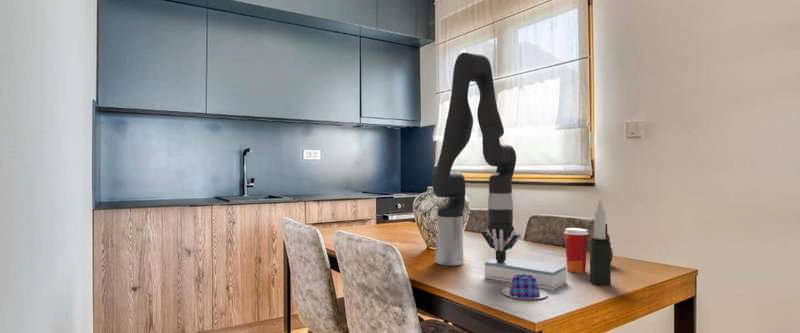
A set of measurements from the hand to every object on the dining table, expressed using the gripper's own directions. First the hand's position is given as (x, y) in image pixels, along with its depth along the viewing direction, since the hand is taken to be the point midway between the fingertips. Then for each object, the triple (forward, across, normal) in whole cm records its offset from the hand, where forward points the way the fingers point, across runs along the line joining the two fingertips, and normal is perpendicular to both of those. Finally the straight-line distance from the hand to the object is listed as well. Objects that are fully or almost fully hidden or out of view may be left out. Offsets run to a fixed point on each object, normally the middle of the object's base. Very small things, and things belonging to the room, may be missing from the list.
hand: (500, 262), depth 140 cm
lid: (+1, +7, +2) cm, 7 cm away
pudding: (+6, +14, -12) cm, 19 cm away
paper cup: (+5, +15, +24) cm, 29 cm away
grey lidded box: (+5, +7, +2) cm, 9 cm away
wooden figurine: (+5, +19, +39) cm, 44 cm away
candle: (+5, +26, +13) cm, 29 cm away
